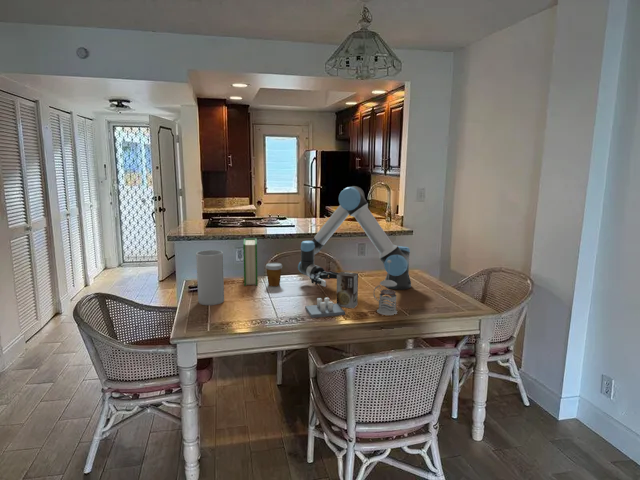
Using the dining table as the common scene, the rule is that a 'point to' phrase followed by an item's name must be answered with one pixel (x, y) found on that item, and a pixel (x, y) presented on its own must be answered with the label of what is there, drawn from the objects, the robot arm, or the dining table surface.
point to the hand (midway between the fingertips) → (336, 282)
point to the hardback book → (250, 261)
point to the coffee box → (347, 289)
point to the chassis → (324, 309)
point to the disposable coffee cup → (274, 273)
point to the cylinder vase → (210, 277)
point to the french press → (387, 298)
